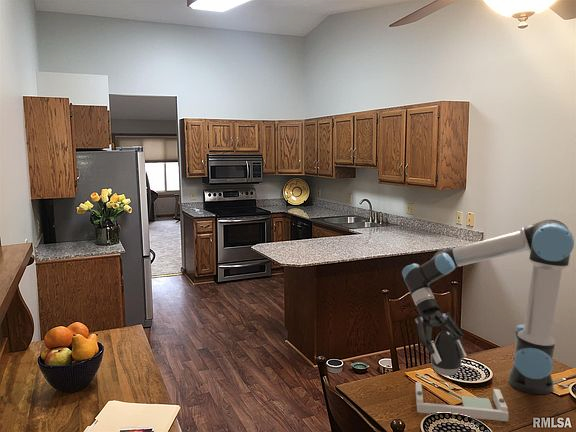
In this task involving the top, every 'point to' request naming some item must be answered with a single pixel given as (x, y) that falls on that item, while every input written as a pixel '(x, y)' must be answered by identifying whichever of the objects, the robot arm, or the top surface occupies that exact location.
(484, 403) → the track
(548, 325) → the robot arm
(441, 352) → the dark grey tapered dome
